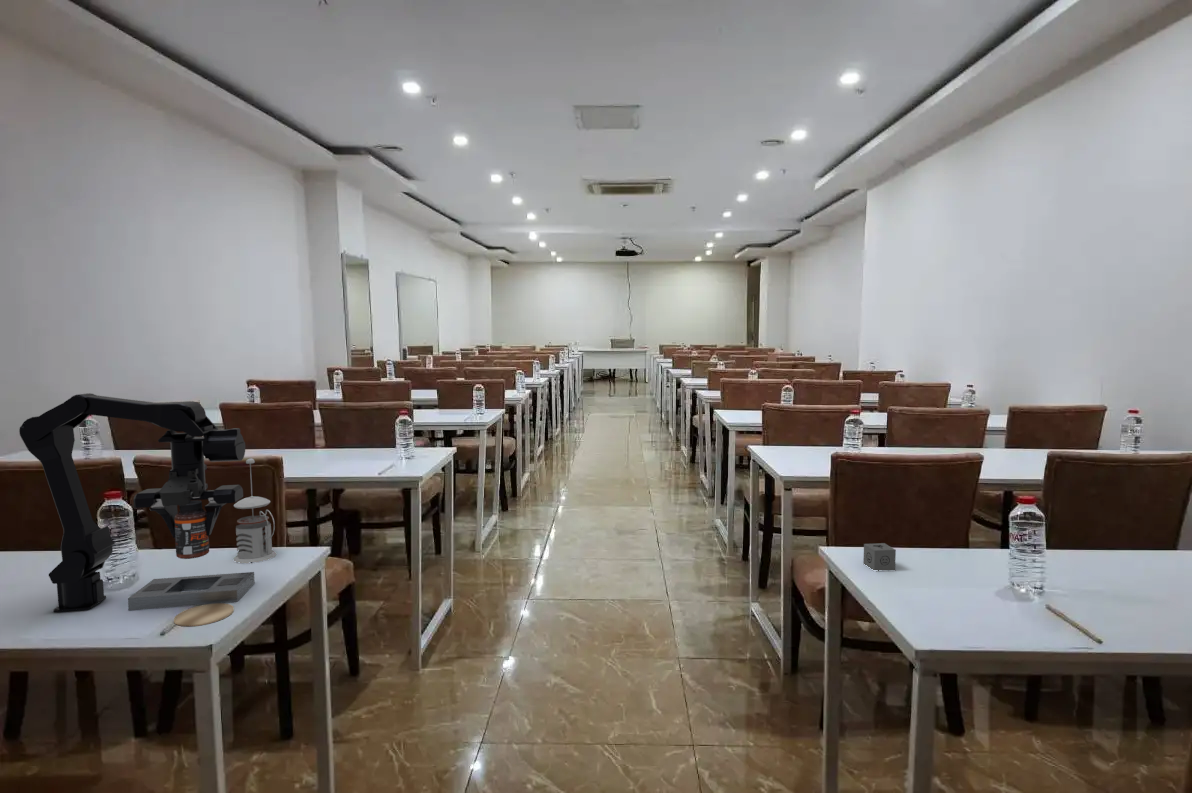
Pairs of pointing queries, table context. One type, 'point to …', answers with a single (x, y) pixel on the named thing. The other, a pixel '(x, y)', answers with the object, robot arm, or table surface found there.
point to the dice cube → (879, 556)
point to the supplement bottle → (191, 531)
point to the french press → (253, 530)
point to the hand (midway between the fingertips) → (192, 536)
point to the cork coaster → (203, 614)
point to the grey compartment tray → (170, 594)
